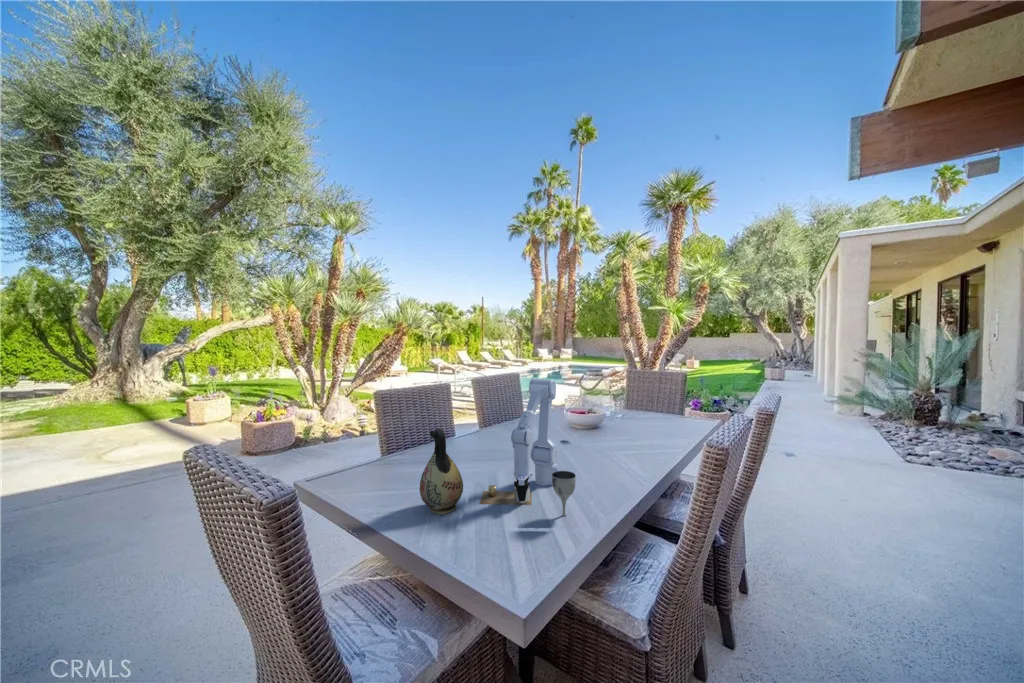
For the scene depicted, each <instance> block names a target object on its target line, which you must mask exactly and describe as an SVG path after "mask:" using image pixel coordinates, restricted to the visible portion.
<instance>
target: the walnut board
mask: <svg viewBox="0 0 1024 683" xmlns="http://www.w3.org/2000/svg"><path fill="white" fill-rule="evenodd" d="M532 496H533V492H532V491H530V502H528V503H526V504H519V503H516V502H515V490H513V491H511V490H509V491H508V490H507V491H506V490H496V497H489V496H488V490H483V491H482V494H481V497H480V501H479V505H504V506H505V505H508V506H509V505H510V506H513V505H514V506H516V505H519V506H532V504H533V503H532V502H533V497H532Z"/></svg>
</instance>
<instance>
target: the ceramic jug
mask: <svg viewBox="0 0 1024 683" xmlns="http://www.w3.org/2000/svg"><path fill="white" fill-rule="evenodd" d="M429 434H430V437H431V438H432V439H433V441H434V451H433V453H432V456H431V457H430V459H429V460H428V462H427V464H426V465H425V467H424V470H423V472H422V474H421V476H420V481H419V494H420V497H421V501H422V502H423V503H424V504H425V505H427V507H428V508H429V511H430V510H431V511H430V512H431V513H432V512H433V514H436V515H446V514H449V513H451V512H453V511H455V510H456V507H457V503H458V502H459V501H460V499H461V497H462V494H463V491H464V481H463V477H462V474H461V472H460V470H459V467H458V466H457V465H456V463H455V461H454V460H453V459H452V457H450V455H449V454H448V453H447V440H446V432H445V431H444V430H443V428H439V427H438V428H436V429H435V430H430V432H429Z"/></svg>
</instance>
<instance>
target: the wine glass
mask: <svg viewBox="0 0 1024 683" xmlns="http://www.w3.org/2000/svg"><path fill="white" fill-rule="evenodd" d="M576 479H577V477H576V473H575V472H573V471H569V470H557V471H556V472H553V473H552V484H553V485H552V487H553V491H554V493H555V495H557V496H558V498H559V500H560V501H561V505H562V514H561V517H564V518H565V517H567V514H566V504H567V501H568V499H569V498H570V497H571V496H572V495H573V494H574V491H575V488H576V482H577V480H576Z"/></svg>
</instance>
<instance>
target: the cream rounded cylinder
mask: <svg viewBox="0 0 1024 683" xmlns="http://www.w3.org/2000/svg"><path fill="white" fill-rule="evenodd" d="M487 489H488V490H487V491H488V496H489V497H496V491H497V486H496V485H494V484H490V485H488V488H487Z"/></svg>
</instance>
